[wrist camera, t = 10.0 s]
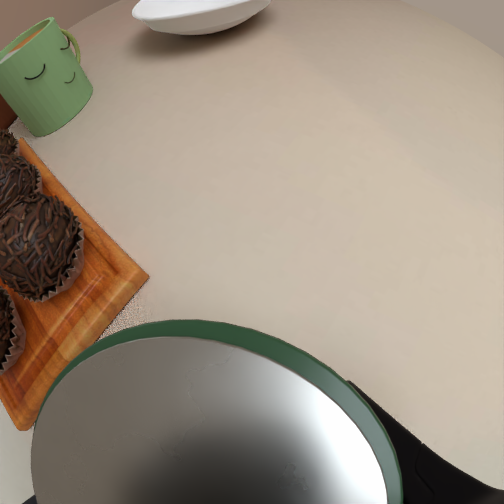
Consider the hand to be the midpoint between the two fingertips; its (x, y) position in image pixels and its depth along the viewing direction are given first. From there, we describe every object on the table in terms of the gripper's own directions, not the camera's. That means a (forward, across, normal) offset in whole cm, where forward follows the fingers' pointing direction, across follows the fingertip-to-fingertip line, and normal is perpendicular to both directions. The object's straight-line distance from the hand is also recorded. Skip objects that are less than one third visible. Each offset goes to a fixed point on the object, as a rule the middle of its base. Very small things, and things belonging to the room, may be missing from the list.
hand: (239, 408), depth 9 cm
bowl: (+38, 0, -25) cm, 45 cm away
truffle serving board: (+16, +22, -3) cm, 27 cm away
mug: (+31, +21, -19) cm, 42 cm away
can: (+4, 0, +6) cm, 7 cm away
